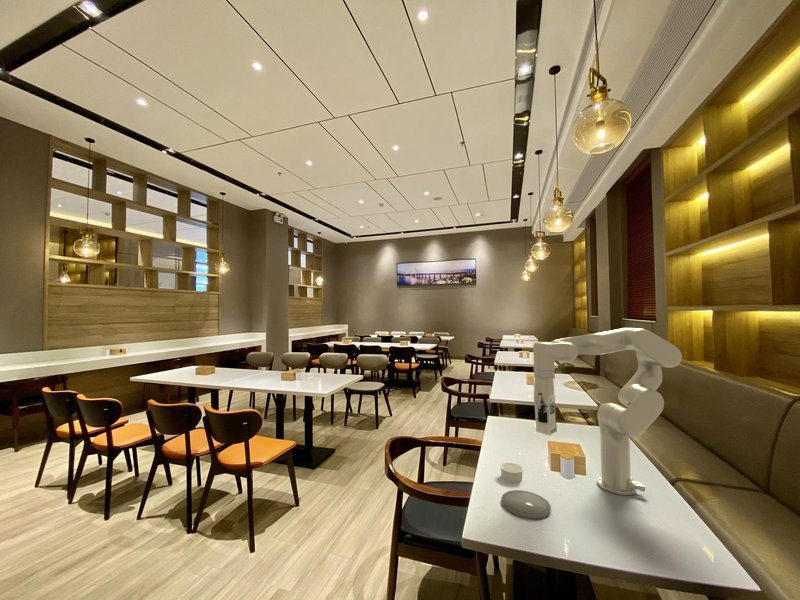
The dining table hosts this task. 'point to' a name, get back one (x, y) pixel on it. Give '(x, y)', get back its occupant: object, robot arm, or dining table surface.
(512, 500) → the grey plate
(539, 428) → the syrup box
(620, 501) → the dining table surface
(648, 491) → the dining table surface
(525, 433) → the dining table surface
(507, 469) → the ramekin
